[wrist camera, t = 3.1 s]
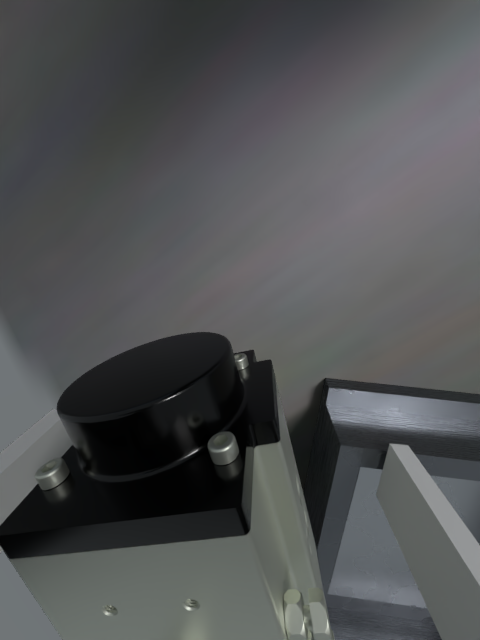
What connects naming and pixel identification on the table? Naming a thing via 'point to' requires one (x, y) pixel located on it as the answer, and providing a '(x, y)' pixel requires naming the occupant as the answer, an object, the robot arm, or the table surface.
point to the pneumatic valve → (172, 504)
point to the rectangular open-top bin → (364, 507)
